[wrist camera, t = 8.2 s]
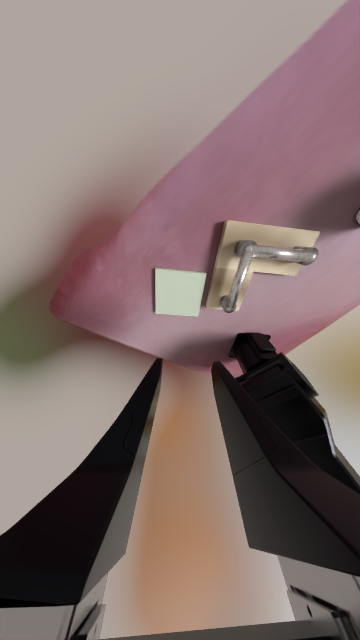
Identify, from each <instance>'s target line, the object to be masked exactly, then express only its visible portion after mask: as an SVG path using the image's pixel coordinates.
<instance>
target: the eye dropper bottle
mask: <svg viewBox="0 0 360 640" xmlns="http://www.w3.org/2000/svg"><path fill="white" fill-rule="evenodd" d="M356 220H357V221H358V223H359V224H360V210H359V212H358V213H357V216H356Z"/></svg>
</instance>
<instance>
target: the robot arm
mask: <svg viewBox="0 0 360 640" xmlns="http://www.w3.org/2000/svg"><path fill="white" fill-rule="evenodd" d="M239 335H241V336H239ZM267 337H268V338H267ZM270 338H271V336H270V335H264V334H258V333H249V334H247V333H239V334H237V337H236V339H235V341H234V344H233V346H232V348H231V351H230V353H229V357H232V358H237V360H238V362H239V365H240V367H241V369H242V371H243V373H244V374H243V375H241V376H239V377H237V378H234V377H233V376H232V375H231V374H230V372H229V371H228V370H227V369H226V368H225V367H224V365H223V364H222V363H221V362H220V361H214V363H213V366H212V368H211V373H212V381H213V389H214V395H215V399H216V404H217V409H218V413H219V417H220V422H221V426H222V431H223V435H224V439H225V444H226V448H227V453H228V457H229V461H230V466H231V470H232V475H233V479H234V484H235V488H236V492H237V497H238V501H239V506H240V510H241V515H242V519H243V523H244V528H245V532H246V537H247V541H248V545H249V547H250V548H252V549H256V550H260V551H264V552H267V553H271V554H275V555H277V556H278V559H279V563H280V566H281V569H282V572H283V576H284V579H285V582H286V585H287V589H288V590H287V594H288V597H289V601H290V604H291V607H292V611H293V614H294V617H295V620H296V621H290V622H279V623H269V624H259V625H248V626H237V627H226V628H216V629H205V630H194V631H184V632H173V633H163V634H152V635H141V636H130V637H120V638H109V639H99V638H100V633H101V628H102V622H103V617H104V612H105V606H106V604H102V601H103V596H104V591H105V586H106V582H107V576H108V572H109V571H110V569H111V568H112V567H113V566H114V565H115V564H116V563H117V562H118V561H119V560H120V559H121V557H122V556H123V555H124V554H125V552H126V547H127V543H128V538H129V533H130V529H131V524H132V519H133V515H134V510H135V505H136V500H137V496H138V491H139V486H140V482H141V476H142V472H143V467H144V463H145V458H146V453H147V449H148V444H149V440H150V435H151V430H152V426H153V421H154V416H155V411H156V407H157V402H158V397H159V392H160V386H161V375H162V363H163V359H162V358H157V359H156V360H155V362H154V363H153V365H152V366H151V368H150V369H149V371H148V372H147V374H146V375H145V377H144V378H143V380H142V381H141V383H140V385H139V386H138V387H137V389H136V391H135V392H134V394H133V395H132V397H131V398H130V400H129V401H128V403H127V404H126V406H125V407H124V409H123V410H122V412H121V413H120V415H119V416H118V418H117V419H116V420H115V422H114V423H113V424H112V426H111V427H110V429H109V430H108V431H107V432H106V433H105V435H104V436H103V437H102V438H101V440H100V441H99V442H98V443H97V445H96V446H95V447H94V448H93V450H92V451H91V452H90V454H89V455H88V456H87V457H86V458H85V459H84V461H83V462H82V463H81V464H80V465H79V466H78V467H77V468H76V470H75V471H73V472H72V473H71V474H70V475H69V476H68V477H67V478H66V479H65V480H64V481H63V482H61V483H60V484H59V485H58V486H57V487H56V488H55V489H54V490H53V491H52V492H51V493H49V494H48V495H47V496H46V497H45V498H44V499H43V500H41V501H40V502H39V503H38V504H37V505H36V506H35V507H34V508H32V509H31V510H30V511H29V512H28V513H27V514H26V515H25V516H24V517H22V518H21V519H20V520H19V521H18V522H17V523H16V524H15V525H14V526H12V527H11V528H10V529H9V530H7V531H6V532H5V533H3V534H2V535H1V536H0V640H360V476H359V475H358V474H357V473H356V471H355V470H354V469H353V467H352V466H351V465H350V464H349V462H348V461H347V460H346V459H345V457H344V456H343V455H342V453H341V452H340V451H339V450H338V448H337V447H336V446H335V444H334V440H333V437H332V433H331V429H330V425H329V421H328V417H327V413H326V411H325V409H324V408H323V407H322V406H321V405H320V403H319V402H318V401H317V400H316V399H315V396H318V393H317V392H316V390H315V389H314V388H313V386H312V385H311V383H310V382H309V381H308V379H307V378H306V377H305V375H304V374H303V373H302V372H301V371H300V370H299V369H298V368H297V367H296V366H295V365H294V364H293V363H292V362H291V361H290V360H289V359H288V358H287V357H286V356H285V355H284V354H283V353H282V352H281V353H279V354H277V353H276V352H275V351H276V349H275V348H274V346H273V345H272V344H271V343H270V342H269V339H270ZM230 355H232V356H230Z"/></svg>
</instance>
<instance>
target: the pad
mask: <svg viewBox="0 0 360 640" xmlns="http://www.w3.org/2000/svg"><path fill="white" fill-rule="evenodd" d="M205 279H206V273H205V272H194V271H184V270H174V269H164V268H156V269H155V297H156V314H169V315H182V316H195V317H198V314H199V309H200V304H201V299H202V294H203V289H204V284H205Z"/></svg>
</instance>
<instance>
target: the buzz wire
mask: <svg viewBox="0 0 360 640" xmlns="http://www.w3.org/2000/svg"><path fill="white" fill-rule="evenodd" d="M319 234H320V232H318V231H310V230H302V229H294V228H286V227H278V226H270V225H262V224H254V223H245V222H237V221H229V220H227V221H224V226H223V230H222V235H221V239H220V243H219V248H218V252H217V257H216V261H215V266H214V270H213V275H212V279H211V283H210V288H209V292H208V297H207V301H206V307H207V308H209V309H221V310H224V311H225V312H227V313H231V312H233V311H238V310H239V308H240V305H241V303H242V300H243V297H244V295H245V292H246V290H247V287H248V284H249V282H250V279H251V277H252V274H253V272H263V273H273V274H283V275H293V276H296V275H297V273H298V271H299V269H300V268H301V266H302V265H309V264H311V263H312V262H313V261H314V260H315V259H316V258H317V256H318V250H317V249H316V248H312V246H313V245H314V243H315V241H316V239H317V237H318V236H319Z"/></svg>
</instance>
